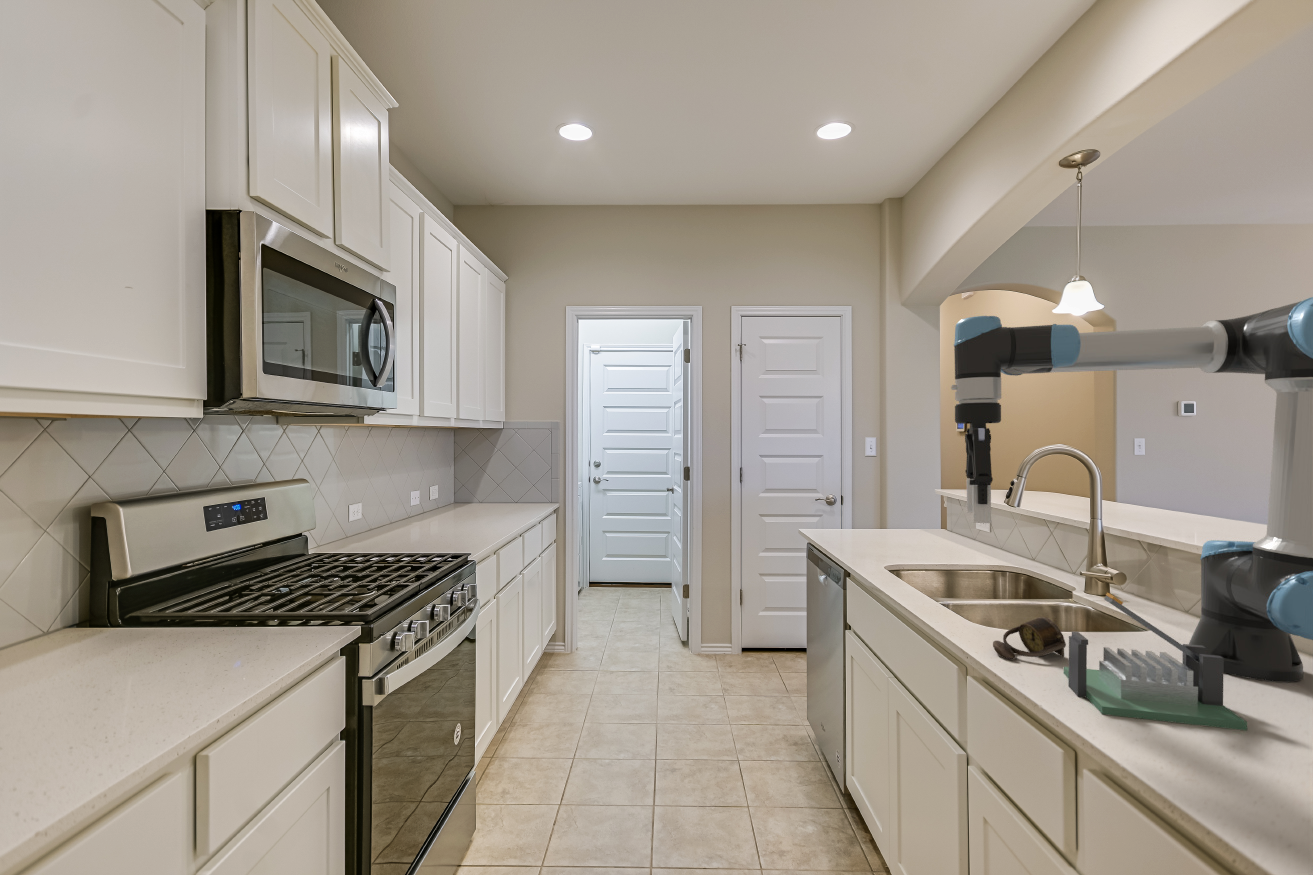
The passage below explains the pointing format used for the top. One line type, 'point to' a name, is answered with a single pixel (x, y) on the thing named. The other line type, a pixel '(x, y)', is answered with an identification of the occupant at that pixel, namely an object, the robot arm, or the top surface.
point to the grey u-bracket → (1206, 675)
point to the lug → (1078, 663)
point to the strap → (1149, 626)
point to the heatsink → (1148, 677)
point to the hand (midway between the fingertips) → (978, 517)
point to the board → (1157, 707)
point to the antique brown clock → (1033, 639)
